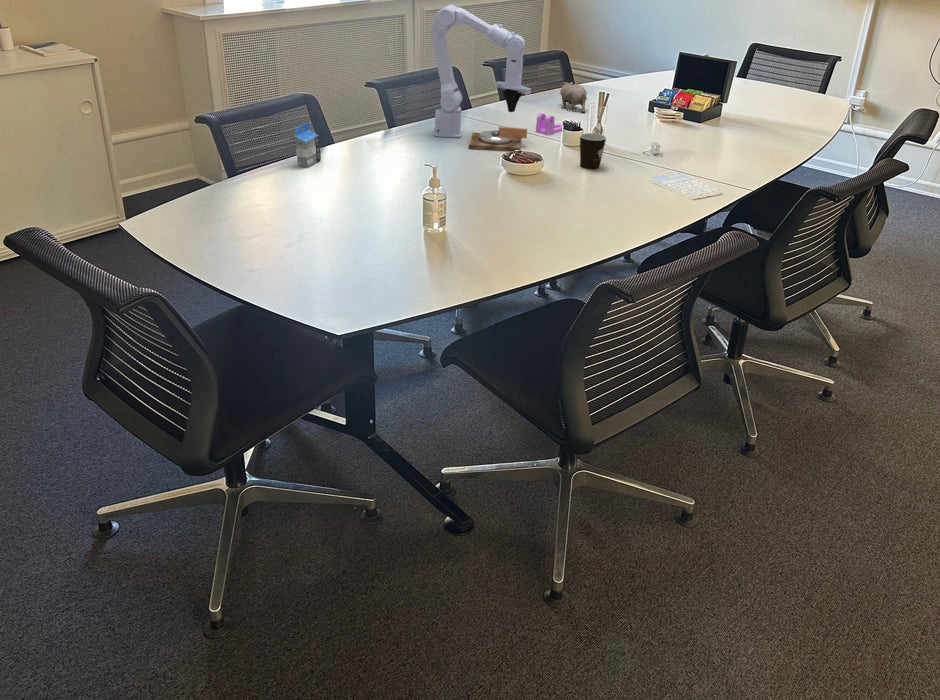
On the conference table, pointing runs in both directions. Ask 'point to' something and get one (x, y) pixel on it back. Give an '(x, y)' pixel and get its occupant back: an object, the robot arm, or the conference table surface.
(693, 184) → the calculator
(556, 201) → the conference table surface
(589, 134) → the coffee mug
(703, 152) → the conference table surface
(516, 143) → the stand
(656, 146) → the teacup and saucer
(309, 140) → the label tape box
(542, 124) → the bracket
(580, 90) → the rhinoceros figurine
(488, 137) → the dial
